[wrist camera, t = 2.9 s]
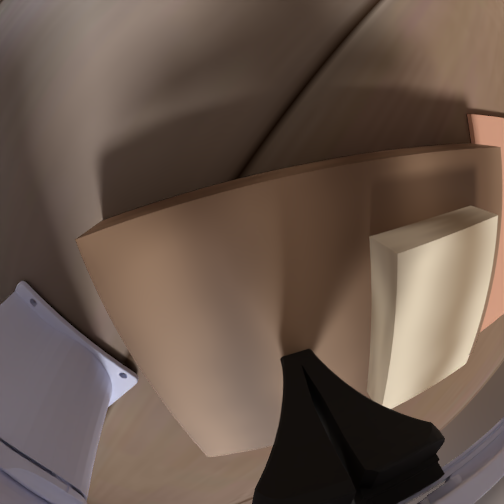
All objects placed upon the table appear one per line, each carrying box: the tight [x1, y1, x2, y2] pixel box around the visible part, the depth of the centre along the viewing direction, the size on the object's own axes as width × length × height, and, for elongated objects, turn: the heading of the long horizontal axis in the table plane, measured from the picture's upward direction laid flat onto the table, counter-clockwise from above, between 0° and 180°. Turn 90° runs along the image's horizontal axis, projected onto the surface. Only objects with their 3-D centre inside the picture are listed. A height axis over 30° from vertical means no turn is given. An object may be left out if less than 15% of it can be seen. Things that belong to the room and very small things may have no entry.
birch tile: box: [367, 206, 498, 409], centre depth 11 cm, size 7×10×2 cm
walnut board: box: [75, 143, 502, 457], centre depth 13 cm, size 22×16×3 cm
